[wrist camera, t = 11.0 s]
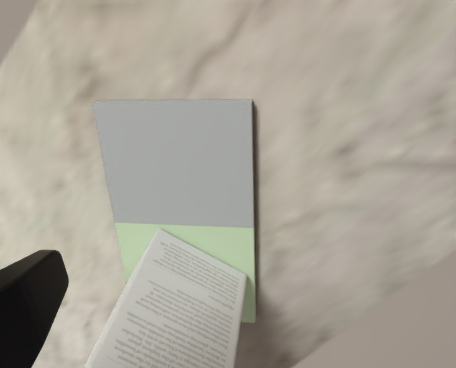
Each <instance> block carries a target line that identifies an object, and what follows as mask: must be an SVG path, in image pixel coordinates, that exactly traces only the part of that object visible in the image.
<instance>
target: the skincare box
mask: <svg viewBox="0 0 456 368" xmlns="http://www.w3.org/2000/svg"><path fill="white" fill-rule="evenodd" d="M246 282H247V275H246V274H245V273H243V272H241V271H239V270H237V269H235V268H233V267H231V266H229V265H227V264H225V263H223V262H222V261H220V260H218V259H216V258H214V257H212V256H210V255H209V254H207V253H205V252H203V251H201V250H199V249H197V248H195V247H193V246H192V245H190V244H188V243H186V242H184V241H182V240H180V239H179V238H177V237H175V236H173V235H171V234H169V233H167V232H165V231H164V230H162V229H158V230H157V231H156V233H155V235H154V236H153V238H152V240H151V241H150V243H149V245H148V246H147V248H146V250H145V251H144V253H143V255H142V256H141V258H140V260H139V262H138V263H137V265H136V267H135V269H134V271H133V273H132V274H131V276H130V278H129V280H128V282H127V284H126V286H125V288H124V290H123V292H122V294H121V295H120V297H119V299H118V301H117V303H116V305H115V307H114V309H113V311H112V313H111V315H110V317H109V319H108V321H107V323H106V325H105V327H104V329H103V331H102V333H101V335H100V337H99V339H98V341H97V343H96V345H95V347H94V349H93V350H92V352H91V354H90V356H89V358H88V360H87V362H86V364H85V366H84V368H234V366H235V359H236V352H237V345H238V338H239V331H240V324H241V317H242V310H243V303H244V296H245V289H246Z"/></svg>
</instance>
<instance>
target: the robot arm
mask: <svg viewBox="0 0 456 368" xmlns="http://www.w3.org/2000/svg"><path fill="white" fill-rule="evenodd" d="M68 283H69V279H68V275H67V272H66V268H65V265H64V262H63V259H62V256H61V254H60V253H59V251H57V250H39V251H37V252H35V253H33V254H31V255H29V256H27V257H25V258H23V259H21V260H19V261H17V262H15V263H13V264H11V265H9V266H7V267H5V268H3V269H1V270H0V368H31V367H32V366H33V364H34V362H35V360H36V358H37V356H38V354H39V353H40V351H41V349H42V347H43V345H44V342H45V340H46V338H47V336H48V333H49V331H50V329H51V326H52V324H53V322H54V319H55V317H56V314H57V312H58V310H59V307H60V305H61V303H62V300H63V298H64V295H65V293H66V291H67V288H68Z"/></svg>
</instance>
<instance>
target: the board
mask: <svg viewBox="0 0 456 368" xmlns="http://www.w3.org/2000/svg"><path fill="white" fill-rule="evenodd" d="M92 107H93V113H94V118H95V123H96V128H97V133H98V139H99V144H100V149H101V154H102V159H103V165H104V170H105V175H106V180H107V185H108V191H109V196H110V201H111V206H112V211H113V217H114V222H115V227H116V232H117V237H118V243H119V248H120V253H121V258H122V263H123V269H124V274H125V279H126V284H127V282H128V280H129V278H130V276H131V274H132V273H133V271H134V269H135V267H136V265H137V263H138V262H139V260H140V258H141V256H142V255H143V253H144V251H145V250H146V248H147V246H148V245H149V243H150V241H151V240H152V238H153V236H154V235H155V233H156V231H157V230H158V229H162V230H164V231H165V232H167V233H169V234H171V235H173V236H175V237H177V238H179V239H180V240H182V241H184V242H186V243H188V244H190V245H192V246H193V247H195V248H197V249H199V250H201V251H203V252H205V253H207V254H209V255H210V256H212V257H214V258H216V259H218V260H220V261H222V262H223V263H225V264H227V265H229V266H231V267H233V268H235V269H237V270H239V271H241V272H243V273H245V274H246V275H247V282H246V289H245V296H244V303H243V310H242V317H241V322H246V323H255V320H256V288H255V228H254V167H253V106H252V100H96V101H95V102H93V103H92Z"/></svg>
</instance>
